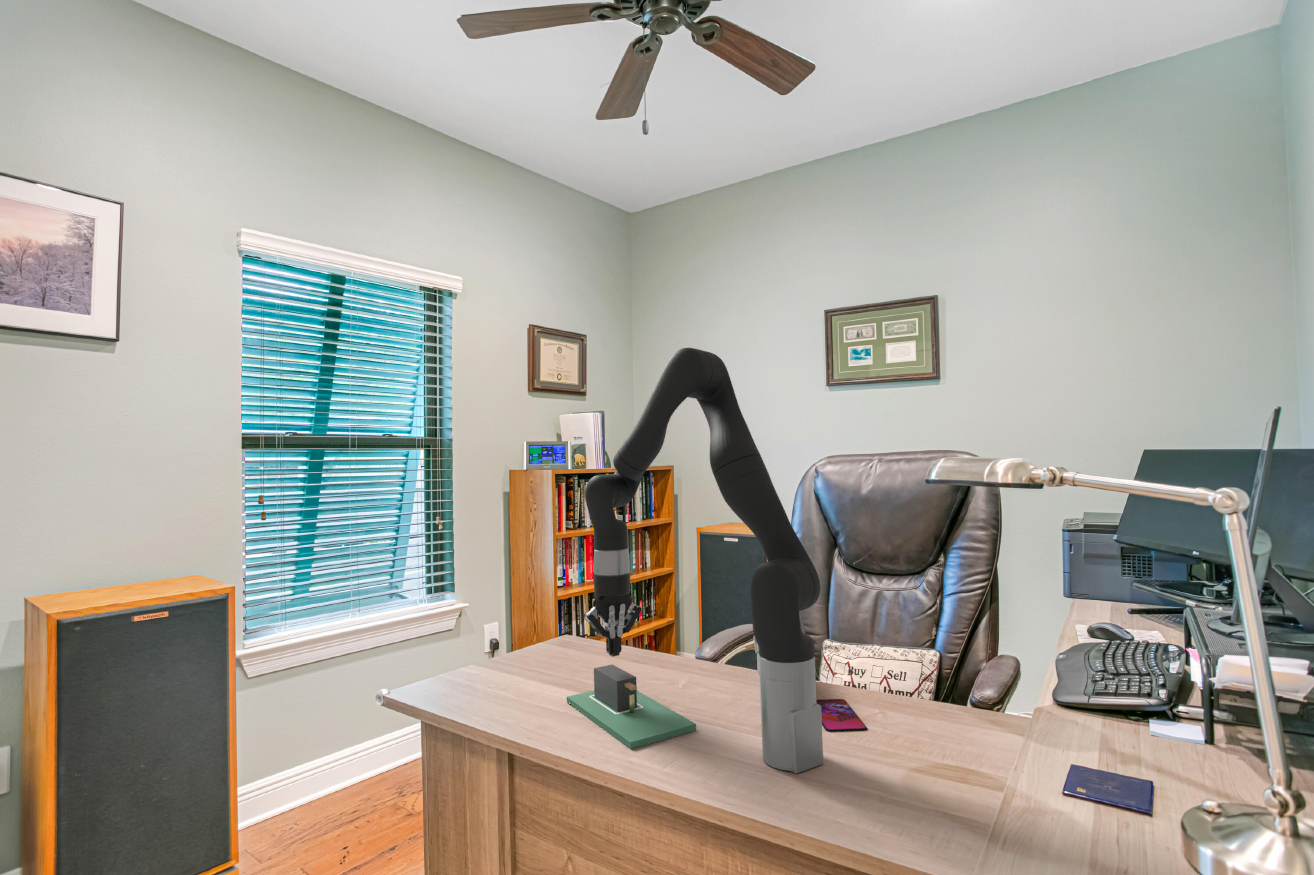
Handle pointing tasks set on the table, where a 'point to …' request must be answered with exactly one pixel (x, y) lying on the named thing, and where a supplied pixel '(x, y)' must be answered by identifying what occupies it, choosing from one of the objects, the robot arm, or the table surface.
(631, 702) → the header pins
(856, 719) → the smartphone
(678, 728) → the header board
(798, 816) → the table surface
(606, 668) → the plug housing
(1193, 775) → the table surface
